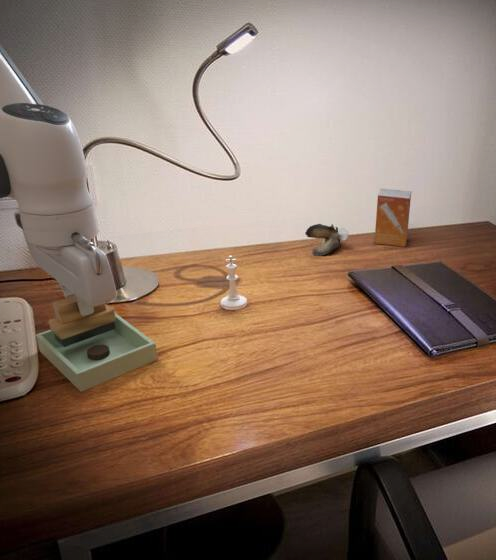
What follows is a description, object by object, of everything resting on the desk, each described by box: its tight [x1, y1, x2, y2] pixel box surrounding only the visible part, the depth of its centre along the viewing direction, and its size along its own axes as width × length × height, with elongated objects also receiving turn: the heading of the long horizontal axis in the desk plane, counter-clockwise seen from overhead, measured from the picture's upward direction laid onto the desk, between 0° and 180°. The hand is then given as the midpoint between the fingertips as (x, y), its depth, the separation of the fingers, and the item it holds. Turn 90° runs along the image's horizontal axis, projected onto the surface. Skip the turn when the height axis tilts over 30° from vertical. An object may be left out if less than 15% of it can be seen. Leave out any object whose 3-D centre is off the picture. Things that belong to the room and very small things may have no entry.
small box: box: [374, 188, 412, 248], centre depth 133 cm, size 8×6×13 cm
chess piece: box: [220, 255, 248, 311], centre depth 98 cm, size 5×5×10 cm
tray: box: [35, 311, 159, 393], centre depth 81 cm, size 14×11×4 cm
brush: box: [48, 296, 116, 347], centre depth 81 cm, size 8×4×6 cm, turn 142°
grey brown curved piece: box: [304, 223, 349, 256], centre depth 127 cm, size 8×7×9 cm
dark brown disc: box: [87, 345, 110, 360], centre depth 81 cm, size 3×3×1 cm
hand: (80, 309), depth 81 cm, fingers closed on brush, 2 cm apart
